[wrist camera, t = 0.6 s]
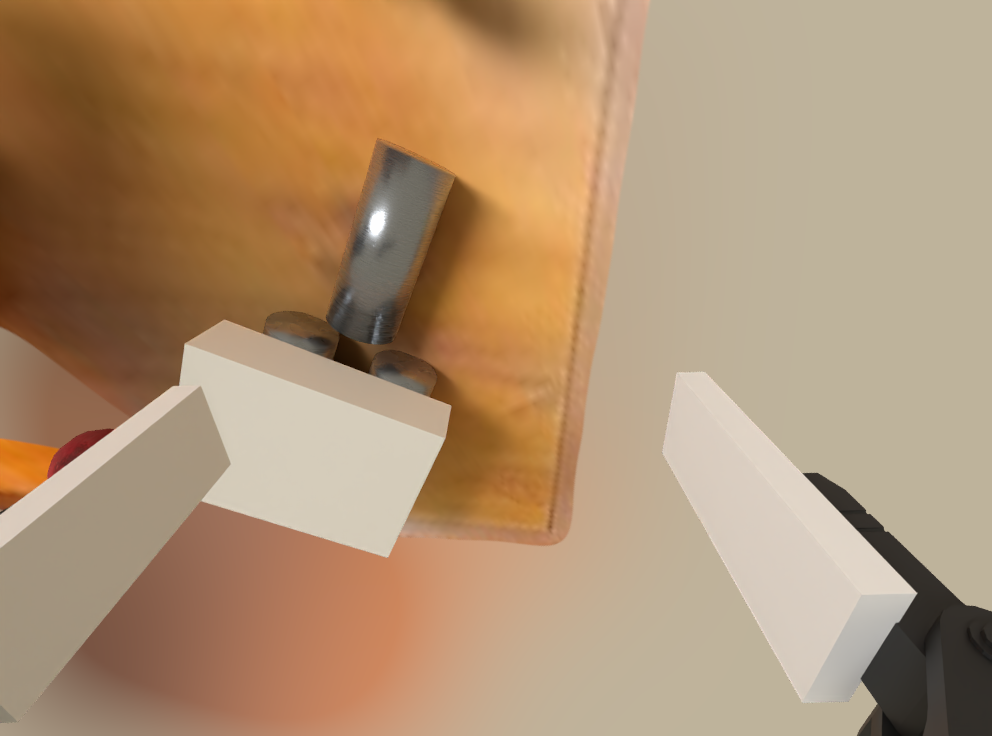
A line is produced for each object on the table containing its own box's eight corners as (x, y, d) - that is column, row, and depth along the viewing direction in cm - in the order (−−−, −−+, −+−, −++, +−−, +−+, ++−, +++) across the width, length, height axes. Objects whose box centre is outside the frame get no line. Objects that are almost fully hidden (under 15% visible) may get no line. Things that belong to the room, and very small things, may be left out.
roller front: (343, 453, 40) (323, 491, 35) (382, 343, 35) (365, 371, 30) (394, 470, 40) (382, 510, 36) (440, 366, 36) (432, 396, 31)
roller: (340, 301, 33) (314, 323, 29) (388, 140, 28) (366, 137, 24) (402, 326, 34) (386, 352, 29) (459, 174, 29) (450, 177, 25)
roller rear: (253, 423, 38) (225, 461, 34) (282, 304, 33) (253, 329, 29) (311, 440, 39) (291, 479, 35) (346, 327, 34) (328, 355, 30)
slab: (200, 453, 33) (164, 490, 30) (224, 319, 28) (184, 343, 25) (398, 517, 36) (387, 557, 32) (451, 405, 31) (445, 438, 28)
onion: (96, 404, 37) (0, 464, 30) (167, 420, 38) (89, 482, 31) (104, 456, 40) (17, 523, 32) (170, 470, 40) (99, 539, 33)
